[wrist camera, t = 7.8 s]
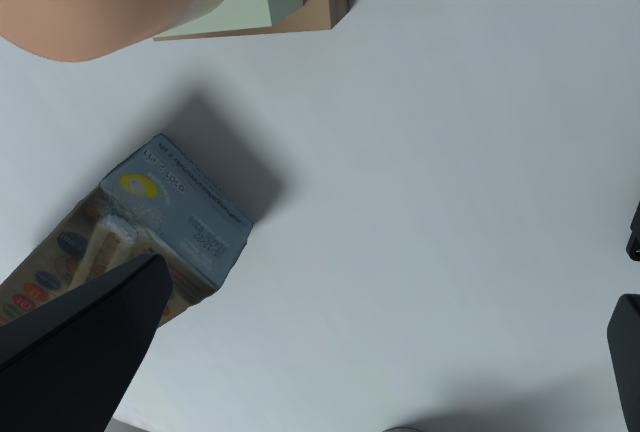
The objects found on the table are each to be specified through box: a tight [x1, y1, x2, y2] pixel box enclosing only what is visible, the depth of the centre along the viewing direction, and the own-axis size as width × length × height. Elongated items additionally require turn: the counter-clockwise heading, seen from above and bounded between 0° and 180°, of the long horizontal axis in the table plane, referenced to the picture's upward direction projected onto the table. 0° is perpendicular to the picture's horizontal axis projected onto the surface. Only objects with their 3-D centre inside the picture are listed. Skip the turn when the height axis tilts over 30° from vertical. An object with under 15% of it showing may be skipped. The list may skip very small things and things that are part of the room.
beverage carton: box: [0, 134, 253, 328], centre depth 27 cm, size 8×19×7 cm, turn 132°
